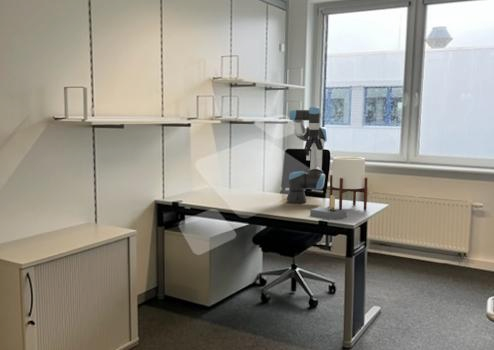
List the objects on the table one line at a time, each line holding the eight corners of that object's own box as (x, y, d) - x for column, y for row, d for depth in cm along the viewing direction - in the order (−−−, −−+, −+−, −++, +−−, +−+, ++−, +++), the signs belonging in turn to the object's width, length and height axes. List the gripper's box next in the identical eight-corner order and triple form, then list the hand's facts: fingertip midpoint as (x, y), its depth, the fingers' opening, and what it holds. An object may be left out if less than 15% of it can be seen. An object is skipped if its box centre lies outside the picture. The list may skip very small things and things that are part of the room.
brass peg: (328, 216, 316) (329, 195, 315) (331, 216, 319) (331, 195, 317) (332, 217, 314) (333, 196, 313) (335, 216, 317) (335, 195, 315)
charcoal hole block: (310, 215, 320) (310, 209, 320) (320, 212, 329) (320, 207, 329) (337, 219, 308) (337, 213, 307) (346, 216, 317) (346, 210, 316)
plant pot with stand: (369, 210, 340) (370, 159, 335) (338, 211, 335) (340, 159, 331) (355, 204, 361) (357, 156, 357) (327, 205, 357) (328, 156, 352)
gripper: (308, 129, 327) (308, 161, 330) (328, 129, 346) (327, 158, 349) (299, 129, 332) (299, 160, 335) (318, 128, 351) (318, 158, 354)
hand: (313, 159), depth 342 cm, fingers open, 13 cm apart
